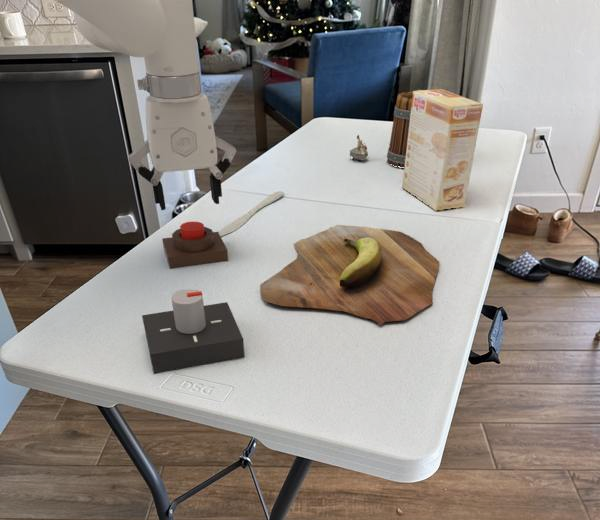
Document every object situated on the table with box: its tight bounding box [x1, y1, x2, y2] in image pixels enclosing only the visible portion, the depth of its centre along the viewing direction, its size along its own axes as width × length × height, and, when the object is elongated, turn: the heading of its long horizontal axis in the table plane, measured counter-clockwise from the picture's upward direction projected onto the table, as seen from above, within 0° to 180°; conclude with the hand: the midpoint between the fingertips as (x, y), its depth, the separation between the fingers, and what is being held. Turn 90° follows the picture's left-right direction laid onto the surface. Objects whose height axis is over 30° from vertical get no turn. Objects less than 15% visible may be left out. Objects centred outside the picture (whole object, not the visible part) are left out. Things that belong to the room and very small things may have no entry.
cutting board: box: [259, 224, 441, 326], centre depth 96 cm, size 35×27×4 cm
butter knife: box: [217, 191, 285, 237], centre depth 115 cm, size 1×27×3 cm
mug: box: [386, 89, 422, 167], centre depth 139 cm, size 16×11×15 cm
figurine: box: [349, 134, 369, 161], centre depth 142 cm, size 5×4×6 cm
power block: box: [161, 226, 229, 270], centre depth 100 cm, size 10×8×4 cm
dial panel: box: [141, 301, 245, 374], centre depth 78 cm, size 12×10×3 cm
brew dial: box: [170, 288, 206, 334], centre depth 76 cm, size 4×4×5 cm
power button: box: [179, 221, 205, 240], centre depth 98 cm, size 4×4×2 cm
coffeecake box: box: [401, 88, 484, 212], centre depth 117 cm, size 15×7×20 cm, turn 20°
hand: (189, 203), depth 95 cm, fingers open, 8 cm apart
